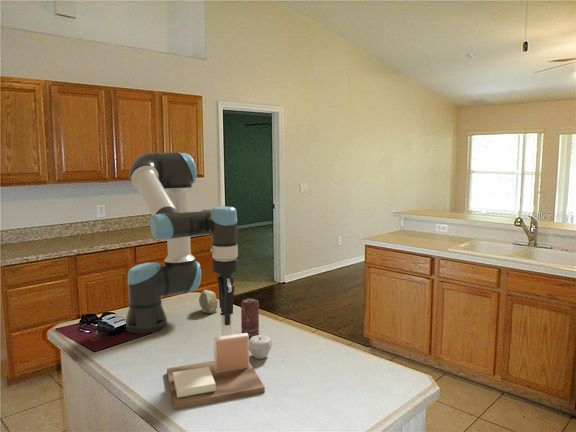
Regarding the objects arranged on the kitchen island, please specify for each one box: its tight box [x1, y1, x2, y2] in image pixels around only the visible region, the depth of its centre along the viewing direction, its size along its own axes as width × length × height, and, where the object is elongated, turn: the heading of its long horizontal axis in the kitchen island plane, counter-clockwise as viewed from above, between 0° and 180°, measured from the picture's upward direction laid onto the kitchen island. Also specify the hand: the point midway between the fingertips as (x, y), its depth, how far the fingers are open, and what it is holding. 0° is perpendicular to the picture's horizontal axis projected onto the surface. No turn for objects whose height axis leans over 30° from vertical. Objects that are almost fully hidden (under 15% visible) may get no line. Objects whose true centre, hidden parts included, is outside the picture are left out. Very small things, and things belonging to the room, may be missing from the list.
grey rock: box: [198, 289, 218, 314], centre depth 181 cm, size 9×8×10 cm
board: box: [166, 360, 266, 410], centre depth 125 cm, size 20×24×2 cm
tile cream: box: [213, 332, 250, 373], centre depth 129 cm, size 2×10×10 cm, turn 110°
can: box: [240, 297, 260, 340], centre depth 154 cm, size 6×6×14 cm
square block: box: [173, 367, 216, 398], centre depth 120 cm, size 2×10×10 cm
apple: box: [249, 334, 273, 360], centre depth 141 cm, size 8×8×7 cm
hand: (226, 333), depth 135 cm, fingers closed
